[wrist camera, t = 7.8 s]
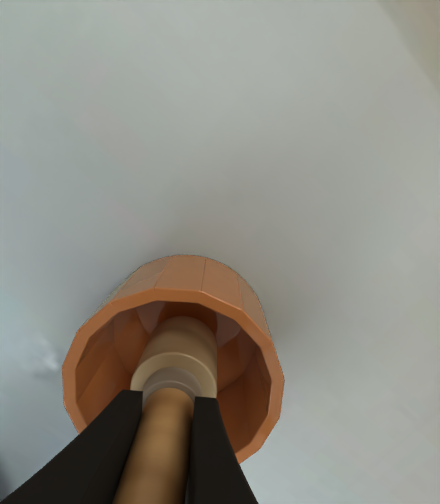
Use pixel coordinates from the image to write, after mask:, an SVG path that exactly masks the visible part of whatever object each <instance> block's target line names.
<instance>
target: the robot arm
mask: <svg viewBox="0 0 440 504" xmlns="http://www.w3.org/2000/svg"><path fill="white" fill-rule="evenodd" d="M142 403H143V391H135V390H124V389H123V390H122V391H120V392H119V393H118V394H117V395H116V396H115V397H114V399H113V400H112V401H111V402H110V403H109V404H108V405H107V406H106V407H105V408H104V409H103V410H102V412H101V413H100V414H99V415H98V416H97V417H96V418H95V419H94V420H93V421H92V422H91V423H90V424H89V425H88V426H87V427H86V428H85V429H84V430H83V431H82V432H81V433H80V434H79V435H78V436H77V437H76V438H75V439H74V440H73V441H72V442H70V443H69V444H68V445H67V446H66V447H65V448H64V449H63V450H62V451H61V452H59V453H58V454H57V455H56V456H55V457H54V458H53V459H52V460H51V461H49V462H48V463H47V464H46V465H45V466H44V467H43V468H42V469H40V470H39V471H38V472H37V473H36V474H35V475H33V476H32V477H31V478H30V479H29V480H27V481H26V482H25V483H24V484H22V485H21V486H20V487H19V488H17V489H16V490H15V491H14V492H12V493H11V494H10V495H8V496H7V497H6V498H5V499H3V500H2V501H1V502H0V504H112V502H113V499H114V496H115V493H116V490H117V487H118V484H119V481H120V478H121V475H122V472H123V469H124V466H125V463H126V460H127V457H128V454H129V451H130V448H131V445H132V442H133V439H134V436H135V433H136V430H137V427H138V424H139V421H140V418H141V415H142ZM185 504H258V502H257V500H256V498H255V496H254V494H253V492H252V490H251V488H250V486H249V484H248V482H247V480H246V478H245V476H244V474H243V472H242V469H241V467H240V465H239V463H238V460H237V458H236V455H235V453H234V450H233V448H232V445H231V443H230V440H229V438H228V435H227V432H226V429H225V426H224V423H223V420H222V416H221V412H220V408H219V402H218V401H217V399H216V398H211V397H200V396H195V402H194V410H193V420H192V430H191V439H190V456H189V470H188V480H187V489H186V499H185Z"/></svg>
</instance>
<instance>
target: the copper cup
mask: <svg viewBox="0 0 440 504" xmlns="http://www.w3.org/2000/svg"><path fill="white" fill-rule="evenodd" d="M176 316H188V317H192V318H195V319H198V320H200V321H201V322H203V323H204V324H206V325H207V326H208V327H209V328H210V329H211V331H212V332H213V334H214V336H215V338H216V341H217V396H216V399H217V401H218V402H219V408H220V412H221V416H222V420H223V423H224V426H225V429H226V432H227V435H228V438H229V440H230V443H231V445H232V448H233V450H234V453H235V455H236V458H237V460H238V463H239V464H240V463H242V462H243V461H244V460H246V459H247V458H249V457H250V456H251V455H253V454H254V453H256V452H257V451H258V450H259V449H260V448H261V447H262V445H263V443H264V442H265V440H266V439H267V437H268V435H269V434H270V432H271V431H272V429H273V428H274V426H275V424H276V423H277V421H278V420H279V417H280V413H281V405H282V397H283V389H284V381H285V380H284V375H283V372H282V369H281V366H280V363H279V360H278V357H277V354H276V351H275V348H274V345H273V342H272V339H271V335H270V332H269V329H268V326H267V323H266V320H265V317H264V314H263V311H262V308H261V305H260V302H259V299H258V297H257V296H256V294H255V293H254V291H253V290H252V288H251V287H250V286H249V285H248V283H247V282H246V281H245V280H244V279H243V278H242V277H241V276H240V275H239V274H238V273H236V272H235V271H233V270H232V269H231V268H229V267H227V266H226V265H224V264H222V263H220V262H217V261H215V260H212V259H209V258H205V257H201V256H194V255H175V256H168V257H164V258H160V259H157V260H154V261H152V262H149V263H147V264H146V265H144V266H142V267H140V268H138V269H137V270H136V271H135V272H133V273H132V274H131V275H130V276H129V277H128V278H127V279H126V280H125V281H124V282H123V283H121V284H120V285H119V286H118V287H117V288H116V289H115V290H114V291H113V292H112V293H111V294H110V296H109V297H108V298H107V299H106V300H105V301H104V302H103V303H102V304H101V305H100V306H99V307H98V309H97V310H96V311H95V312H94V313H93V314H92V315H91V316H90V317H89V318H88V319H87V320H86V322H85V323H84V324H83V325H82V326H81V327H80V328H79V330H78V331H77V333H76V335H75V337H74V340H73V342H72V344H71V347H70V349H69V351H68V354H67V356H66V358H65V361H64V363H63V365H62V378H63V398H64V405H65V409H66V411H67V413H68V414H69V416H70V418H71V420H72V422H73V424H74V426H75V428H76V430H77V432H78V434H80V433H81V432H82V431H83V430H84V429H85V428H86V427H87V426H88V425H89V424H90V423H91V422H92V421H93V420H94V419H95V418H96V417H97V416H98V415H99V414H100V413H101V412H102V410H103V409H104V408H105V407H106V406H107V405H108V404H109V403H110V402H111V401H112V400H113V399H114V397H115V396H116V395H117V394H118V393H119V392H120V391H122V390H123V389H124V390H130V384H131V379H132V376H133V374H134V372H135V369H136V367H137V365H138V362H139V360H140V358H141V356H142V353H143V351H144V349H145V346H146V344H147V342H148V340H149V337H150V335H151V333H152V331H153V330H154V329H155V327H156V326H157V325H158V324H160V323H161V322H163V321H164V320H166V319H169V318H172V317H176Z"/></svg>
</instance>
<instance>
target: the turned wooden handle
mask: <svg viewBox="0 0 440 504" xmlns="http://www.w3.org/2000/svg"><path fill="white" fill-rule="evenodd" d="M130 390H135V391H143V403H142V415H141V418H140V421H139V424H138V427H137V430H136V433H135V436H134V439H133V442H132V445H131V448H130V451H129V454H128V457H127V460H126V463H125V466H124V469H123V472H122V475H121V478H120V481H119V484H118V487H117V490H116V493H115V496H114V499H113V502H112V504H185V499H186V489H187V480H188V470H189V456H190V439H191V430H192V420H193V410H194V402H195V396H200V397H211V398H216V396H217V341H216V338H215V336H214V334H213V332H212V331H211V329H210V328H209V327H208V326H207V325H206V324H204V323H203V322H201V321H200V320H198V319H195V318H192V317H188V316H176V317H172V318H169V319H166V320H164V321H163V322H161V323H160V324H158V325H157V326H156V327H155V329H154V330H153V331H152V333H151V335H150V337H149V340H148V342H147V344H146V346H145V349H144V351H143V353H142V356H141V358H140V360H139V362H138V365H137V367H136V369H135V372H134V374H133V376H132V379H131V384H130Z"/></svg>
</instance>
